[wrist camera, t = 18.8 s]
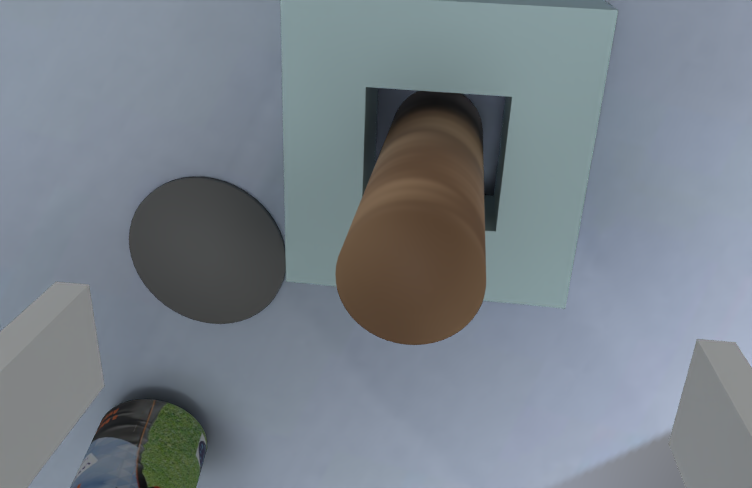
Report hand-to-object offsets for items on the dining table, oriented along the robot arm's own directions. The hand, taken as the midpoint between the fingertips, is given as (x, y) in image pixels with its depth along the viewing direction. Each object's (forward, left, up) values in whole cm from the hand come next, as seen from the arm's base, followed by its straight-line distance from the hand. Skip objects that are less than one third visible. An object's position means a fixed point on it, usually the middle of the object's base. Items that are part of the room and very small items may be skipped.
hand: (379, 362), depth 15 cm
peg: (0, 0, -18) cm, 18 cm away
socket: (0, 0, -18) cm, 18 cm away
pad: (-11, -7, -18) cm, 22 cm away
